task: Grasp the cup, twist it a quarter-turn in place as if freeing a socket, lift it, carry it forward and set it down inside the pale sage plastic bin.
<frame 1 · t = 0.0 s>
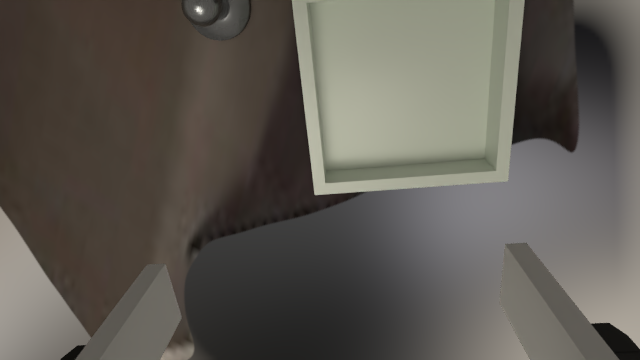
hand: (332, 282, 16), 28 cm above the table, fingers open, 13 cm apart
stud post: (219, 6, 38), on the table
bin: (401, 85, 40), on the table
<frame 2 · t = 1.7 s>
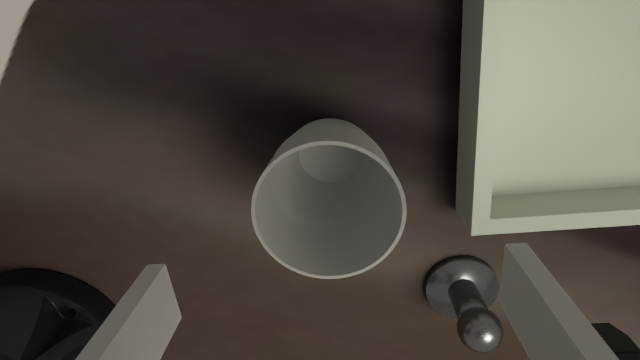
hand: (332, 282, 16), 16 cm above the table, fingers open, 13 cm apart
stud post: (459, 284, 34), on the table
bin: (604, 73, 27), on the table
cup: (330, 151, 30), on the table
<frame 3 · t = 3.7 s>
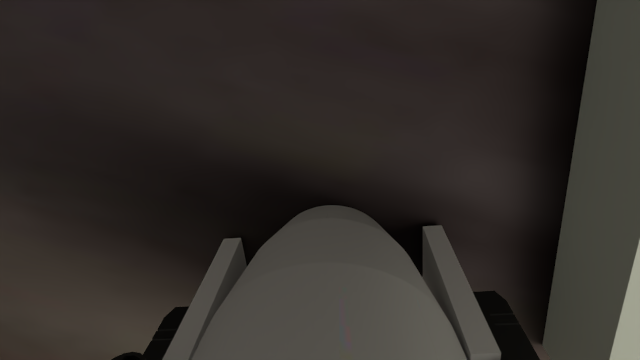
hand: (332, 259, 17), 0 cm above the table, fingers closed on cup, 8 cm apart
cup: (333, 253, 17), on the table, touching gripper
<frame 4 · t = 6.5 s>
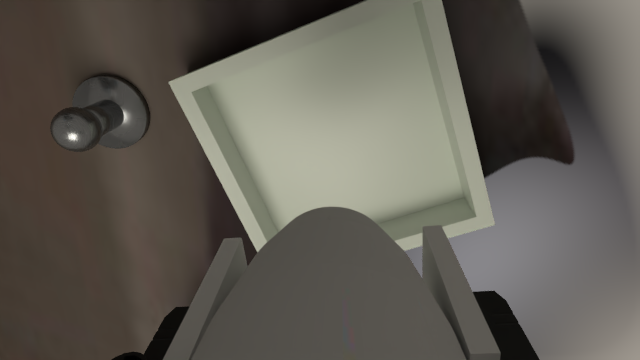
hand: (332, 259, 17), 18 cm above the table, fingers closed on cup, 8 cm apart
stud post: (114, 111, 33), on the table
bin: (341, 140, 34), on the table
cup: (333, 255, 17), point 18 cm above the table, touching gripper
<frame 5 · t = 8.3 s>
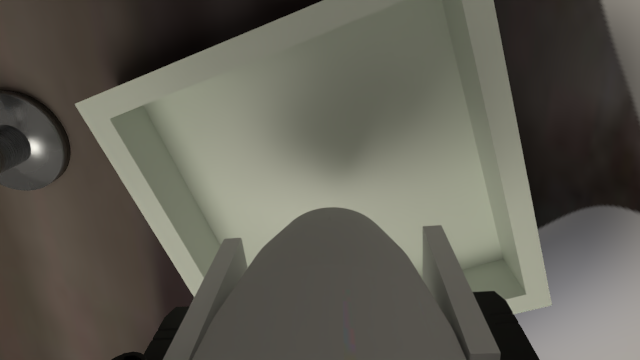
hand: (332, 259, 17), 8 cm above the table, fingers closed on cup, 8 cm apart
stud post: (20, 140, 24), on the table
bin: (334, 181, 24), on the table
cup: (333, 255, 17), point 8 cm above the table, touching gripper
when the fingers open (4 cm above the table, at t = 9.6 s): cup drops 3 cm, resting on bin.
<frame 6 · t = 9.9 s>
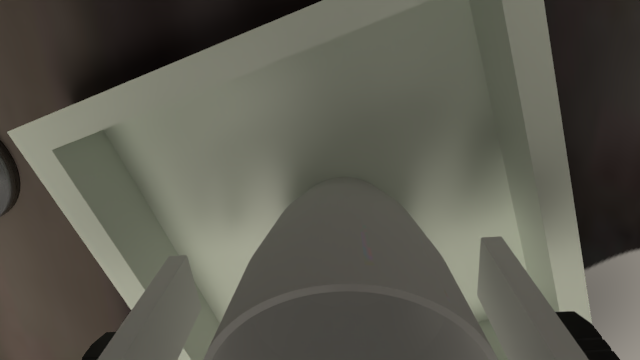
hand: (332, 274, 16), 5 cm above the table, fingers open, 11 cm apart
bin: (334, 218, 20), on the table
cup: (344, 221, 20), resting on bin
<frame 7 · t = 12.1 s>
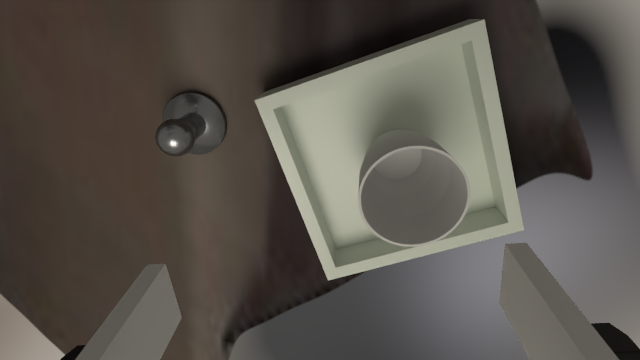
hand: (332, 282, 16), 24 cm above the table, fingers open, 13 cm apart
stud post: (196, 122, 39), on the table
bin: (390, 153, 39), on the table
cup: (396, 154, 38), resting on bin
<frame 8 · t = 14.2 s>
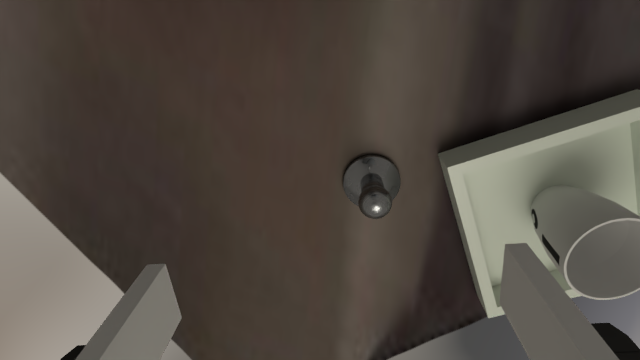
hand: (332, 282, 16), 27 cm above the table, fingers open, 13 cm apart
stud post: (371, 180, 43), on the table
bin: (547, 204, 43), on the table
cup: (554, 205, 42), resting on bin
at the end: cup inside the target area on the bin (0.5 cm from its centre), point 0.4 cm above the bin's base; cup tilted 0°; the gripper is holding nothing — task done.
